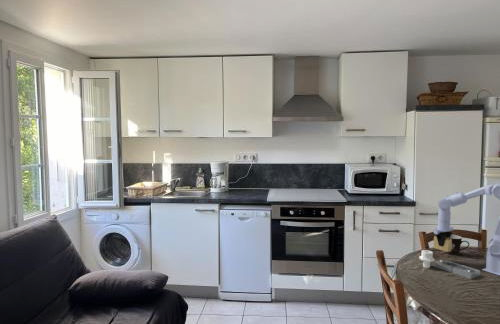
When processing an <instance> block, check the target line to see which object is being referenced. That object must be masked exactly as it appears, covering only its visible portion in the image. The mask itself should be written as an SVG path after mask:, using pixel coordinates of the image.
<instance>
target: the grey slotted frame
mask: <svg viewBox="0 0 500 324" xmlns="http://www.w3.org/2000/svg"><path fill="white" fill-rule="evenodd" d="M433 262H434V263H433V267H435V268H438V269H441V270H443V271H447V272H449V273H452V274H454V275H457V276H460V277H464V278H467V279H468V280H469V279H470V280H473V279H474V278H476V277H480V275H481V270H479V269H476V268H473V267H470V266H466V265H463V264H460V263H457V262H454V261H450V260H448V259H443V258H442V259H439V260H435V261H433Z"/></svg>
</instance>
